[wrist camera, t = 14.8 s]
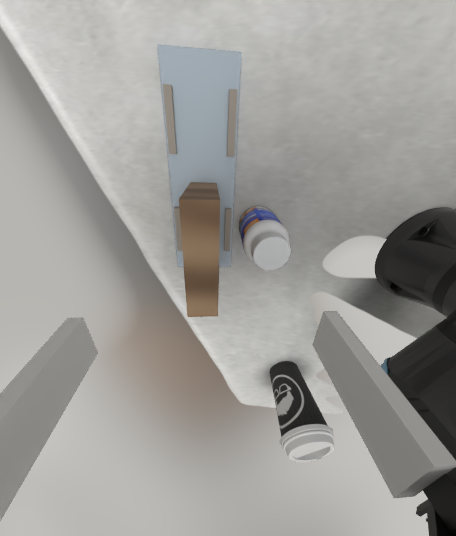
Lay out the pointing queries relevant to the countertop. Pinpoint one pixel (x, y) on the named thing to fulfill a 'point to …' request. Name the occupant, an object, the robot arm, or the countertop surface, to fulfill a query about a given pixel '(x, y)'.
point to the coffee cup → (299, 416)
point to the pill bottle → (264, 238)
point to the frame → (200, 247)
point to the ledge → (201, 128)
